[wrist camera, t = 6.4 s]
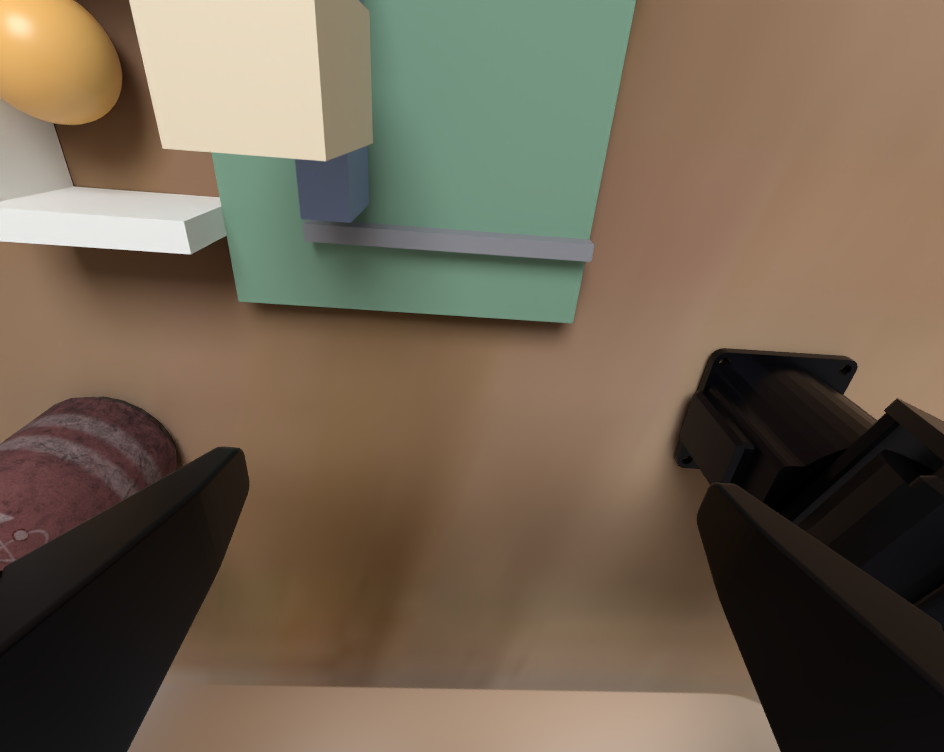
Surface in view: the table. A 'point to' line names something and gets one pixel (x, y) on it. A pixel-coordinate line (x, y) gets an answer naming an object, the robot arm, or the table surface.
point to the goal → (89, 201)
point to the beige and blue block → (267, 88)
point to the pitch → (451, 167)
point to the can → (75, 468)
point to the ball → (56, 62)
